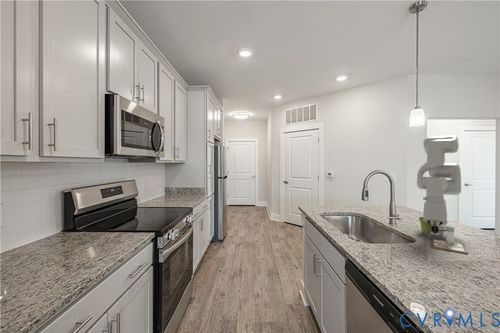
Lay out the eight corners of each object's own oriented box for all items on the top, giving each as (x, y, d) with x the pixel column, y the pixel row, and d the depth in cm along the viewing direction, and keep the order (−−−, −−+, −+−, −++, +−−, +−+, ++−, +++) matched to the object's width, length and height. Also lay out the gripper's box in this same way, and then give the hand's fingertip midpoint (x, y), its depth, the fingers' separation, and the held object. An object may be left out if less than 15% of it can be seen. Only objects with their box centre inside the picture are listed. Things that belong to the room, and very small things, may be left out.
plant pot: (442, 235, 131) (442, 220, 131) (426, 235, 132) (426, 220, 132) (430, 230, 141) (430, 217, 141) (414, 231, 141) (414, 217, 141)
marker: (446, 241, 118) (446, 225, 118) (453, 243, 116) (453, 226, 116) (446, 243, 116) (446, 227, 116) (454, 244, 114) (454, 228, 114)
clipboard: (431, 239, 124) (431, 237, 124) (463, 244, 116) (463, 242, 116) (431, 248, 112) (431, 245, 112) (467, 254, 103) (467, 251, 103)
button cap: (430, 235, 129) (430, 231, 129) (439, 236, 127) (439, 232, 127) (430, 237, 126) (430, 233, 126) (439, 238, 124) (439, 234, 124)
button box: (427, 235, 131) (427, 230, 131) (442, 238, 127) (442, 233, 127) (426, 238, 126) (426, 233, 126) (443, 241, 122) (443, 236, 122)
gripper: (417, 199, 128) (417, 232, 128) (453, 202, 119) (453, 237, 119) (418, 198, 134) (418, 229, 134) (452, 200, 125) (452, 233, 125)
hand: (434, 232), depth 126 cm, fingers closed
